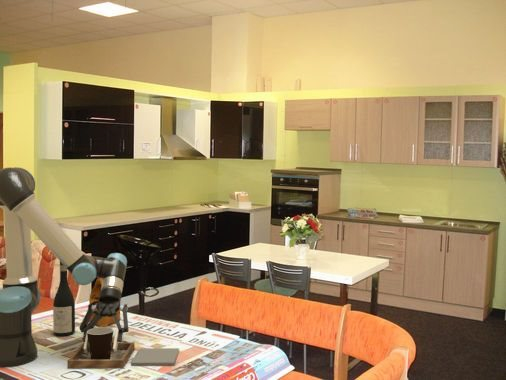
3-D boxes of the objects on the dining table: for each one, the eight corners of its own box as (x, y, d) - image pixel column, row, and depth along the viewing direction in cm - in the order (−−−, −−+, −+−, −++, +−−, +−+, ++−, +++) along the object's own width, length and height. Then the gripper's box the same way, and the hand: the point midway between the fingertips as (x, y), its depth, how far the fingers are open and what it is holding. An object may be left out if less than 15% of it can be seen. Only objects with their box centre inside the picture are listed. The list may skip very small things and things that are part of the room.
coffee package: (85, 325, 222) (84, 272, 221) (105, 317, 234) (104, 267, 233) (104, 328, 218) (104, 274, 217) (123, 320, 229) (123, 268, 229)
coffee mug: (106, 365, 177) (106, 335, 176) (82, 363, 178) (82, 333, 178) (121, 353, 188) (121, 325, 188) (99, 351, 190) (98, 323, 189)
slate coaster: (131, 365, 176) (130, 362, 176) (139, 351, 190) (139, 348, 190) (173, 365, 177) (173, 362, 177) (178, 351, 191) (178, 348, 191)
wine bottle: (70, 336, 206) (69, 259, 205) (50, 336, 207) (49, 258, 205) (78, 330, 214) (77, 255, 213) (58, 330, 215) (57, 255, 213)
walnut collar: (67, 368, 174) (67, 360, 174) (83, 349, 192) (83, 342, 192) (123, 368, 174) (123, 360, 174) (134, 349, 192) (134, 342, 192)
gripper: (142, 297, 198) (134, 355, 183) (83, 297, 198) (69, 355, 182) (139, 286, 193) (131, 345, 177) (78, 286, 192) (64, 345, 177)
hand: (100, 350), depth 180 cm, fingers open, 9 cm apart
